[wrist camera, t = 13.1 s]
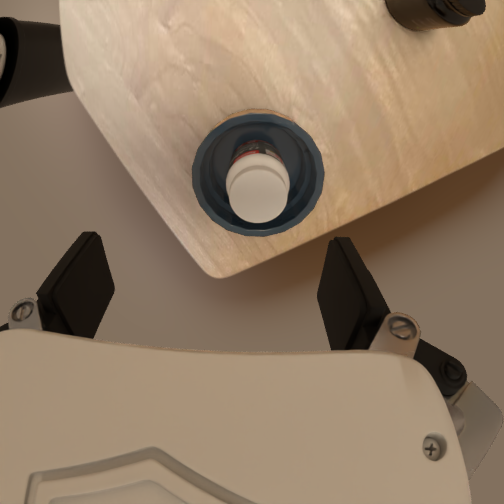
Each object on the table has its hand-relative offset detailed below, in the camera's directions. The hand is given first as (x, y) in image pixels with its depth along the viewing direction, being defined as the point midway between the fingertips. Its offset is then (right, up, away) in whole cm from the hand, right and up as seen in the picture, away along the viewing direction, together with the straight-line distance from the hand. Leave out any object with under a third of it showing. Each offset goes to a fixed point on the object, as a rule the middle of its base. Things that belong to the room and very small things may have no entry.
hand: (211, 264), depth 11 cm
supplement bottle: (+20, +29, +8) cm, 37 cm away
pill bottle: (+2, +10, +20) cm, 22 cm away
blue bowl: (+2, +11, +20) cm, 23 cm away
